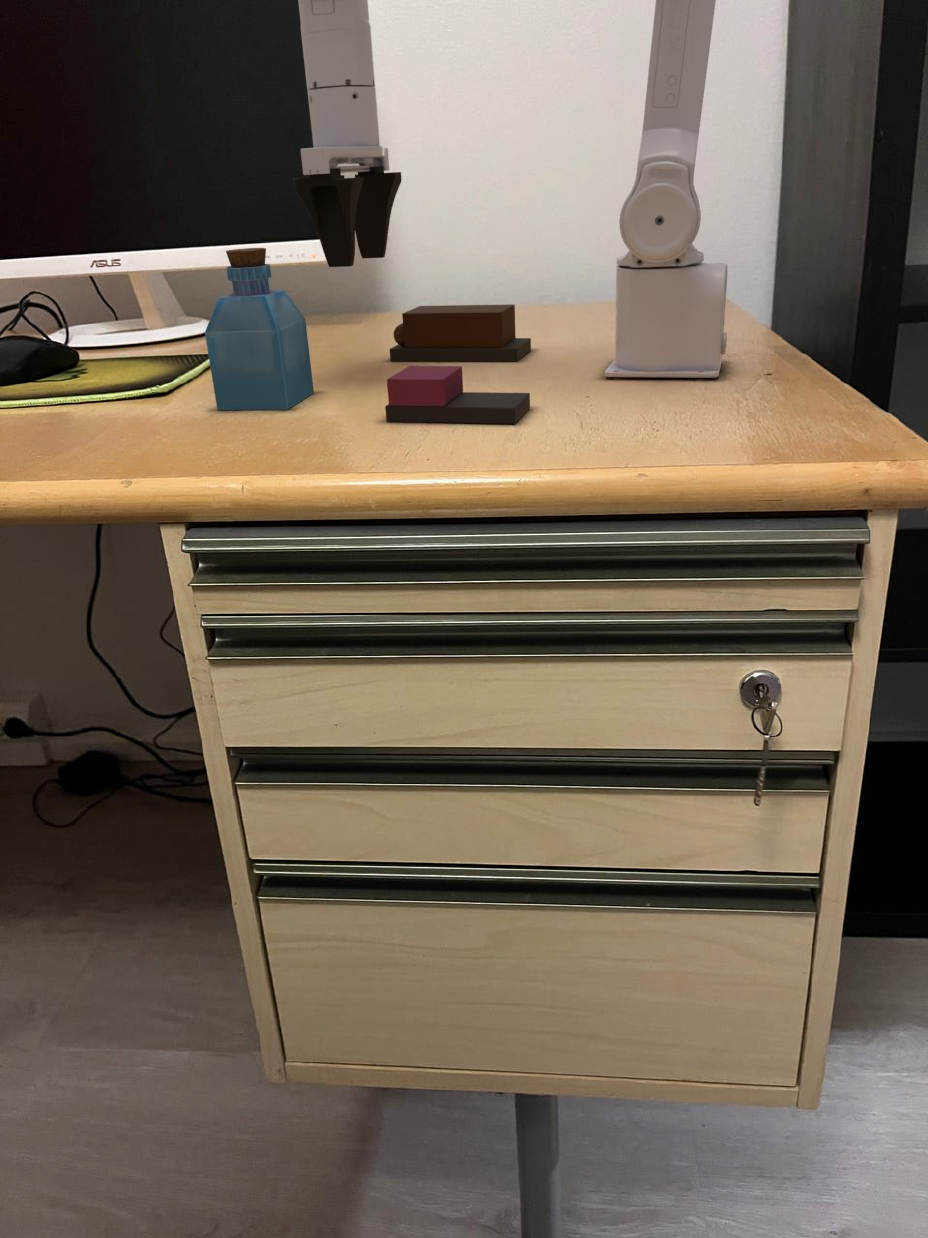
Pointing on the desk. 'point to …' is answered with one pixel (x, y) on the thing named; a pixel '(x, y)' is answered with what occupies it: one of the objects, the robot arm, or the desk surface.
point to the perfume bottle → (257, 341)
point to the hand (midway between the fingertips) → (357, 261)
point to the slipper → (448, 399)
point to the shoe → (459, 334)
